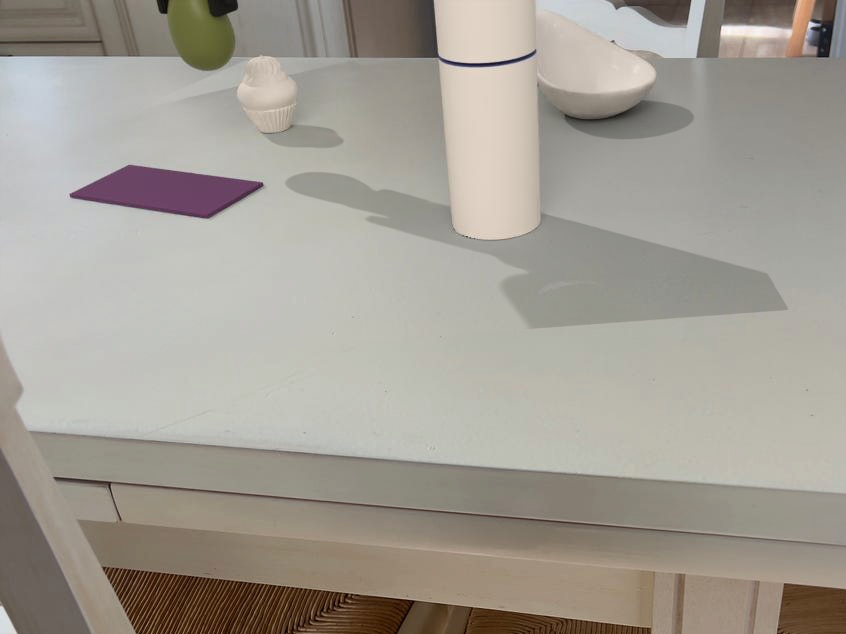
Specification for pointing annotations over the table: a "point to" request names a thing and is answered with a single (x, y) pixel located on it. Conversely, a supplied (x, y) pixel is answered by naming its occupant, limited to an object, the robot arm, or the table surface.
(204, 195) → the cloth
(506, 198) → the cylindrical container
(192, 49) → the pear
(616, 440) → the table surface
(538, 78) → the spoon rest
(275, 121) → the muffin
